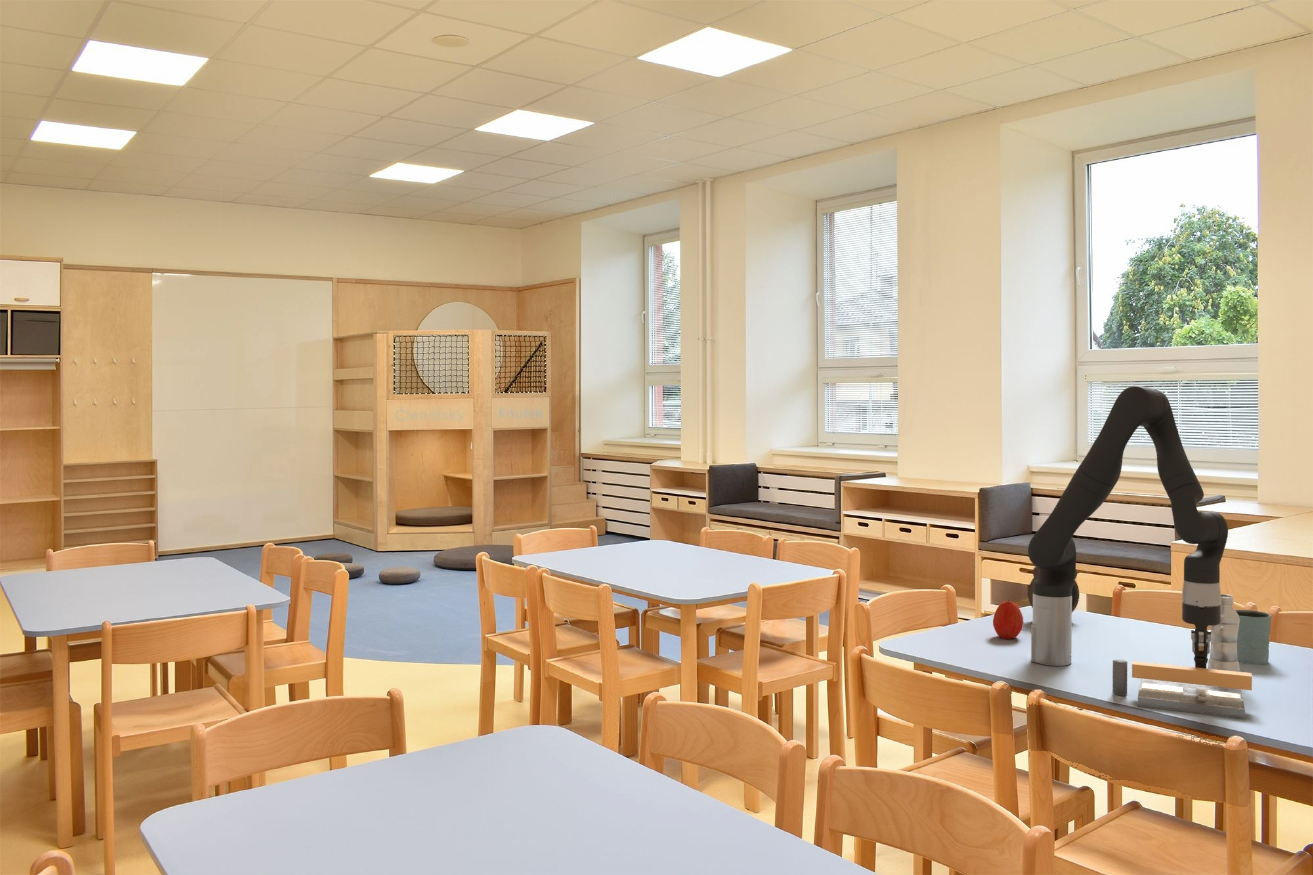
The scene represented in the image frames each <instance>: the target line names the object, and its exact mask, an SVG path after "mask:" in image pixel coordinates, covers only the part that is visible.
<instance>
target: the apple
mask: <svg viewBox="0 0 1313 875" xmlns="http://www.w3.org/2000/svg"><path fill="white" fill-rule="evenodd" d="M992 626H993V629H994V632H995V633H996V634H997V636H998V638H1001V639H1002V640H1003V639H1004V640H1012V639H1015V638H1017V637H1018V636H1019V635H1020V634H1021V632H1022V629H1023V627H1024V616H1023V613H1022V611H1021V609H1020V607H1019V605H1018V604H1016V603H1015V602H1013V601H1010V600H1009V599H1008V601H1002V602H1001V603H1000V604H999V605H998V606H997V607H996V610H995V612H994V614H993V620H992Z"/></svg>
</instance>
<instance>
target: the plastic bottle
mask: <svg viewBox="0 0 1313 875" xmlns="http://www.w3.org/2000/svg"><path fill="white" fill-rule="evenodd" d="M1234 603H1235V602H1234V596H1233V595H1232V594H1222V593H1221V622H1220V624H1218V625H1215V626H1211V625H1209V626H1208V627H1209V631H1211V641H1210V653H1209V658H1208V662H1207V669H1216V670H1226V671H1235V672H1241V668H1240V667H1241V666H1240V662H1238V655H1237V635H1238V629H1239V623H1240V618H1239V615H1238V614H1237V612H1236V611H1235V610H1236V609H1235V608H1234V607H1233V605H1234Z"/></svg>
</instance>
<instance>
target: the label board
mask: <svg viewBox="0 0 1313 875" xmlns="http://www.w3.org/2000/svg"><path fill="white" fill-rule="evenodd" d="M1137 707H1142V708H1149V709H1157V710H1167V711H1174V712H1175V711H1176V712H1183V713H1192V714H1200V715H1206V716H1215V717H1216V716H1217V717H1224V718H1233V719H1240V720H1241V719H1242V720H1246V708H1245V703H1244V696H1243V691H1242V689H1233V688H1224V687H1215V686H1205V685H1196V684H1187V683H1178V682H1168V681H1159V680H1150V679H1141V678H1140V683H1139V689H1138V695H1137Z"/></svg>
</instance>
